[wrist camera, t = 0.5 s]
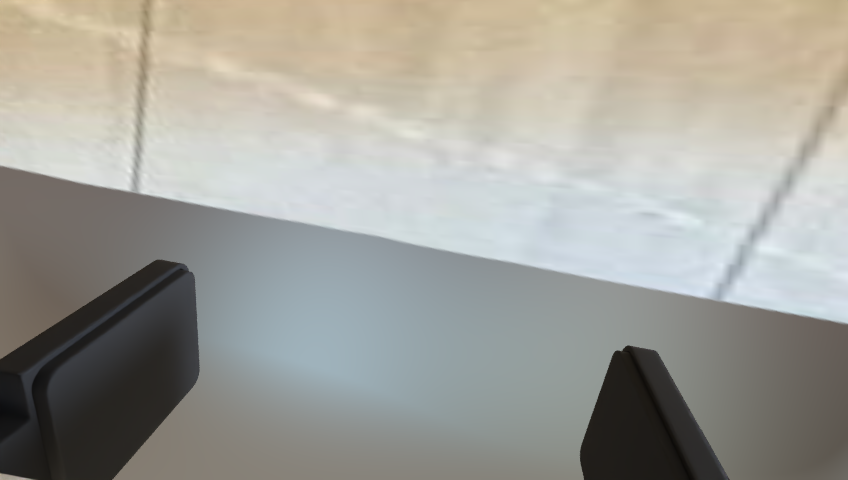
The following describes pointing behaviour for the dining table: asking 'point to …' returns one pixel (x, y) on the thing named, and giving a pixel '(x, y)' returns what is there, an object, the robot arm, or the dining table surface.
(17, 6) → the dining table surface
